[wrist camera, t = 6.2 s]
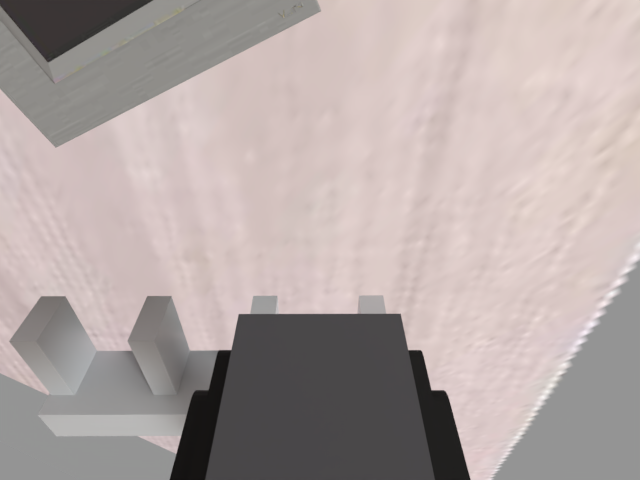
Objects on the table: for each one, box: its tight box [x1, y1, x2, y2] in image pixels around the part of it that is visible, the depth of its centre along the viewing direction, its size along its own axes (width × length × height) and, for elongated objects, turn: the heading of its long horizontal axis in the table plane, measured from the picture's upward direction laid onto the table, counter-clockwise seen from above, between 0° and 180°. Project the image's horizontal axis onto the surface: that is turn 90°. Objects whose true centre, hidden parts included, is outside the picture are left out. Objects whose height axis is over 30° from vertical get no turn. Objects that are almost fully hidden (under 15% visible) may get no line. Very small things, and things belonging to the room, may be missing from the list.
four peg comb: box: [9, 295, 386, 436], centre depth 28 cm, size 9×23×6 cm, turn 90°
